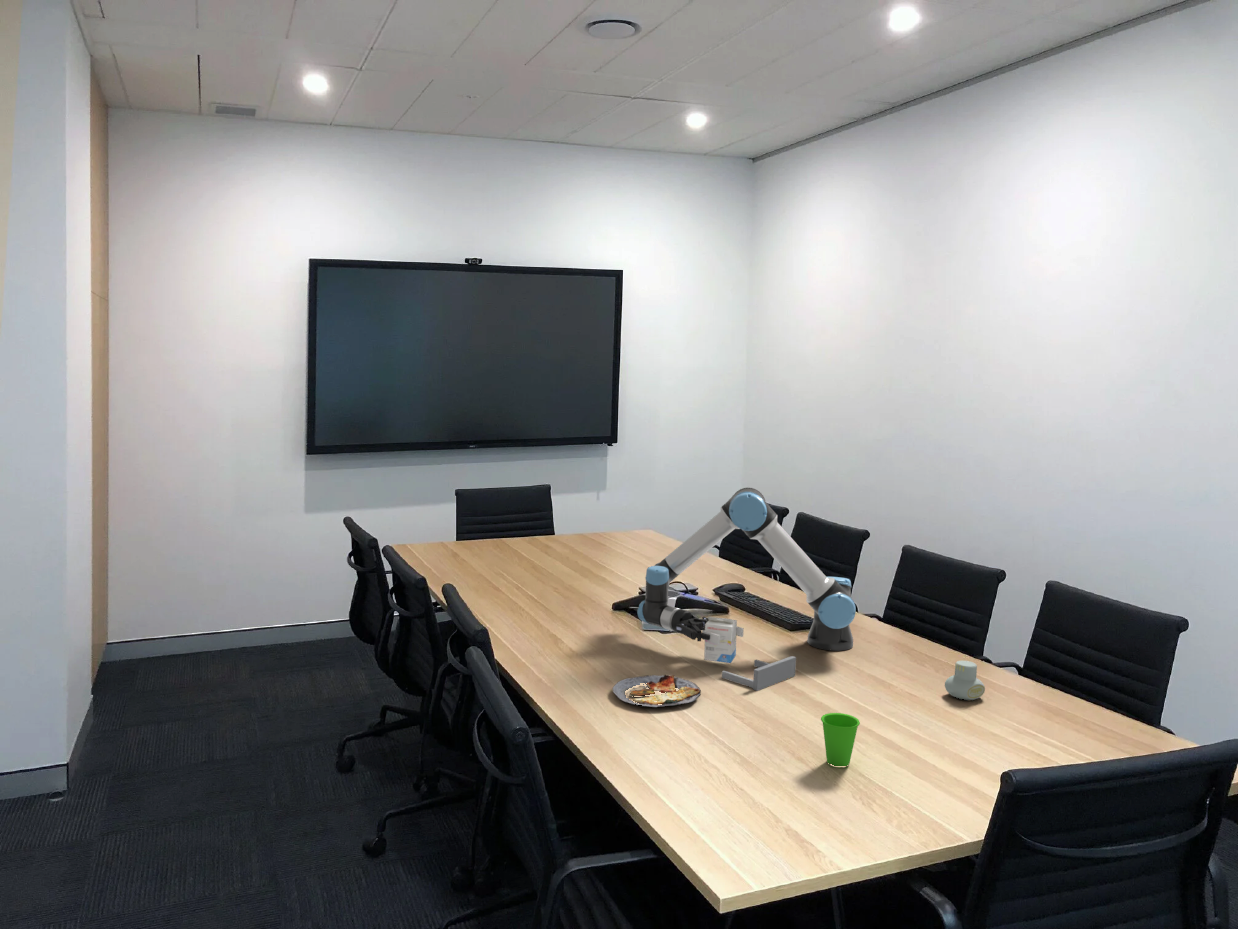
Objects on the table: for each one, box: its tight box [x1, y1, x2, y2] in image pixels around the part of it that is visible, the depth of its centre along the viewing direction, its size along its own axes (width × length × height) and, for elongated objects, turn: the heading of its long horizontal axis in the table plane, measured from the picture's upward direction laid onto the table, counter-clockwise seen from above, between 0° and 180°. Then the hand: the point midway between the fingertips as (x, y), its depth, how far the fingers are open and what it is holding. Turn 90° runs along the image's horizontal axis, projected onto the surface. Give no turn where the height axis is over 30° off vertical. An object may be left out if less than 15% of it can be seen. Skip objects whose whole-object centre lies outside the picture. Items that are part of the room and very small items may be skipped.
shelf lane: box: [721, 655, 797, 692], centre depth 288 cm, size 14×19×6 cm
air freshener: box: [944, 660, 986, 701], centre depth 275 cm, size 11×8×10 cm
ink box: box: [703, 616, 738, 664], centre depth 298 cm, size 9×8×13 cm
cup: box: [820, 712, 861, 766], centre depth 228 cm, size 9×9×11 cm
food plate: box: [612, 674, 702, 708], centre depth 271 cm, size 25×23×4 cm
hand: (731, 636), depth 295 cm, fingers closed on ink box, 11 cm apart
